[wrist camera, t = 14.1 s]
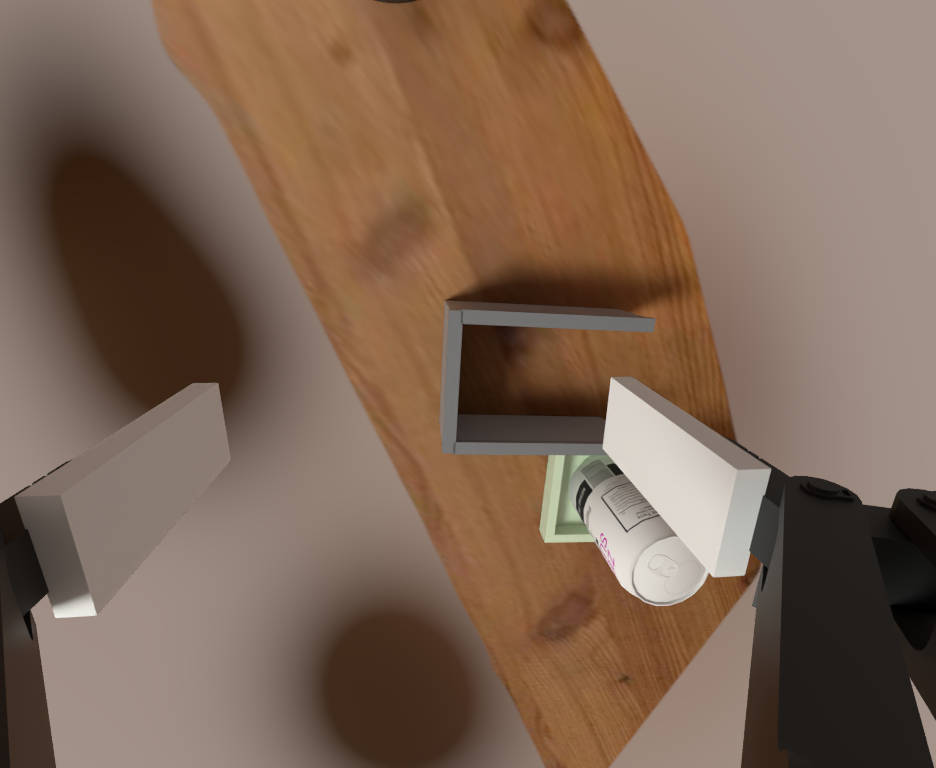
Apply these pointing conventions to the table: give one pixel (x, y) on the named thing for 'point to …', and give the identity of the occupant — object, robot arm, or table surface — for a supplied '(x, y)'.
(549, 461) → the tray
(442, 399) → the dock
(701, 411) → the table surface
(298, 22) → the table surface
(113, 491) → the robot arm
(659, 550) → the supplement can
